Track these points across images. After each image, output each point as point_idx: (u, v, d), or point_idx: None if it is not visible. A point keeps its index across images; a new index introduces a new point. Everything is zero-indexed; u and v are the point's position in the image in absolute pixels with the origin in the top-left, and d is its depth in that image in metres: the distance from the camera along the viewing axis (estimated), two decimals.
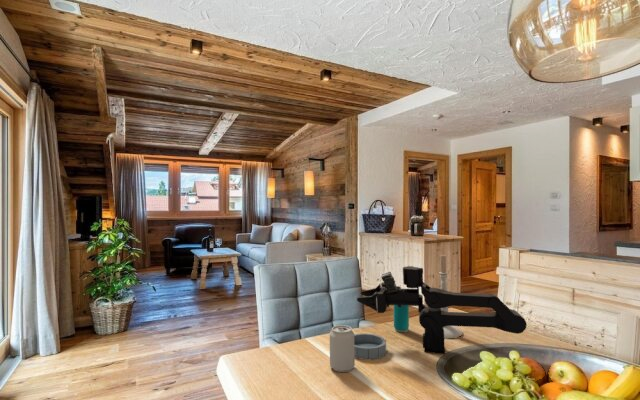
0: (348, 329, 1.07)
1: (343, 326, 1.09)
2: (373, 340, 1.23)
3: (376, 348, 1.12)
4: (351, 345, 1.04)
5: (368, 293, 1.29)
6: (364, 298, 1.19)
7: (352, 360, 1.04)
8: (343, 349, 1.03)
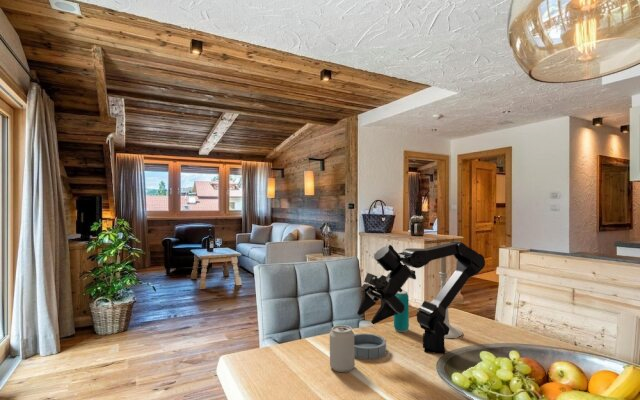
0: (348, 329, 1.07)
1: (343, 326, 1.09)
2: (373, 340, 1.23)
3: (376, 348, 1.12)
4: (351, 345, 1.04)
5: (363, 308, 1.15)
6: (378, 315, 1.05)
7: (352, 360, 1.04)
8: (343, 349, 1.03)
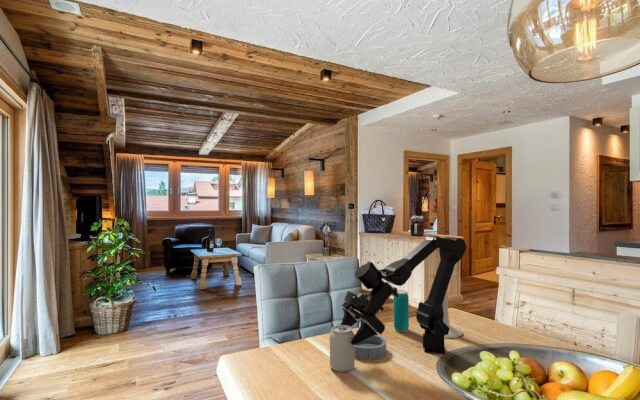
0: (348, 329, 1.07)
1: (343, 326, 1.09)
2: (373, 340, 1.23)
3: (376, 348, 1.12)
4: (351, 345, 1.04)
5: None
6: (357, 336, 1.02)
7: (352, 360, 1.04)
8: (343, 349, 1.03)
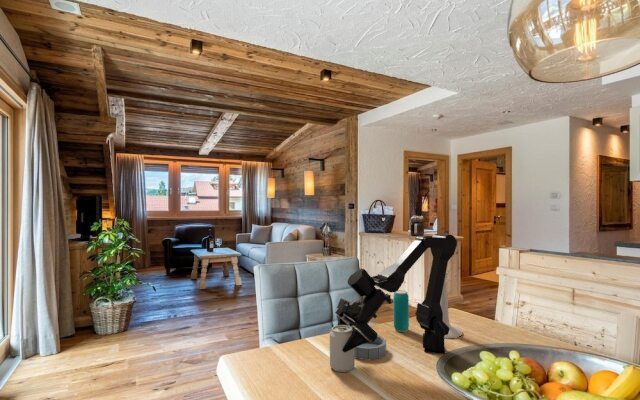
0: (348, 329, 1.07)
1: (343, 326, 1.09)
2: None
3: (376, 348, 1.12)
4: None
5: None
6: (349, 343, 1.02)
7: (352, 360, 1.04)
8: None
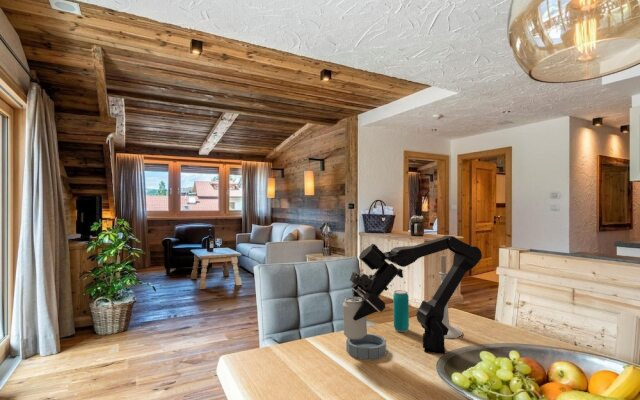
0: (360, 300, 1.14)
1: (356, 298, 1.16)
2: (373, 340, 1.23)
3: (376, 348, 1.12)
4: None
5: None
6: (359, 312, 1.09)
7: (363, 328, 1.11)
8: None
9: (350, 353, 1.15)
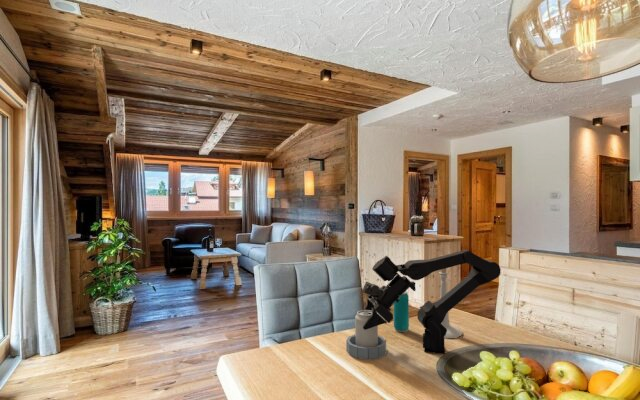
0: None
1: (369, 311, 1.21)
2: None
3: (376, 348, 1.12)
4: (372, 328, 1.15)
5: None
6: (368, 322, 1.13)
7: (373, 341, 1.15)
8: (364, 330, 1.15)
9: (350, 353, 1.15)
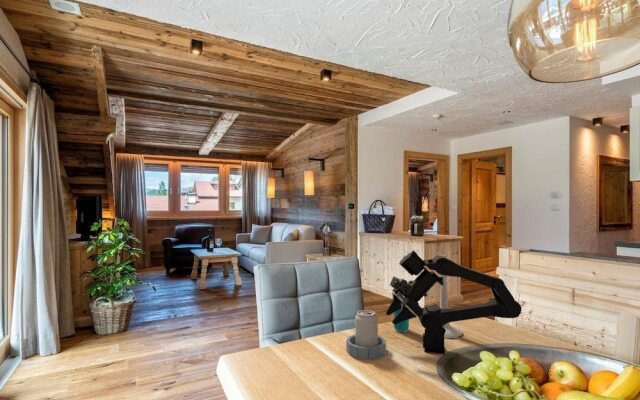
0: (372, 314, 1.18)
1: (369, 311, 1.21)
2: None
3: (376, 348, 1.12)
4: (372, 328, 1.15)
5: (392, 309, 1.23)
6: (398, 316, 1.13)
7: (373, 342, 1.15)
8: (364, 330, 1.15)
9: (350, 353, 1.15)
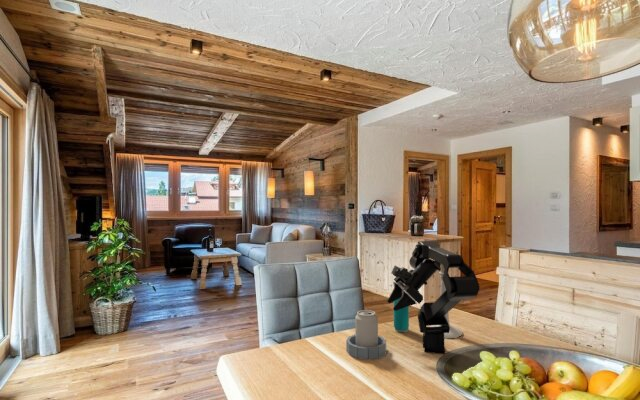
0: (372, 314, 1.18)
1: (369, 311, 1.21)
2: None
3: (376, 348, 1.12)
4: (372, 328, 1.15)
5: (393, 297, 1.28)
6: (398, 303, 1.18)
7: (373, 342, 1.15)
8: (364, 330, 1.15)
9: (350, 353, 1.15)
